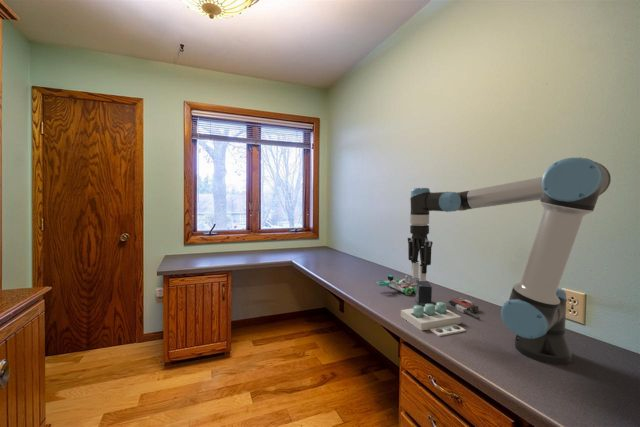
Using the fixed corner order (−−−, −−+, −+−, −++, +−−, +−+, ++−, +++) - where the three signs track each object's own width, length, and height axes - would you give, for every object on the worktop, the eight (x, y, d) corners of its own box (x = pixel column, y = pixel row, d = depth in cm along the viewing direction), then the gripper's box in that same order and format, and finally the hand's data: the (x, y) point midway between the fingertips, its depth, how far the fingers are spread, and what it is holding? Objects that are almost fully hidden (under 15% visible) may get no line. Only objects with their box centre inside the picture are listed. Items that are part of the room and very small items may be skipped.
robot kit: (369, 289, 163) (369, 273, 163) (403, 284, 173) (403, 269, 173) (389, 299, 146) (389, 282, 146) (425, 293, 156) (425, 276, 156)
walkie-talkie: (444, 304, 139) (477, 321, 120) (444, 295, 139) (477, 311, 120) (459, 302, 142) (493, 318, 122) (459, 294, 141) (493, 309, 122)
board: (460, 323, 117) (461, 316, 117) (421, 330, 111) (421, 323, 111) (437, 311, 130) (437, 304, 130) (400, 316, 124) (400, 310, 124)
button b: (437, 315, 119) (437, 306, 119) (429, 316, 118) (429, 307, 118) (430, 311, 123) (430, 303, 123) (422, 313, 122) (422, 304, 122)
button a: (448, 313, 121) (448, 304, 121) (440, 315, 120) (440, 306, 119) (441, 310, 125) (441, 301, 125) (434, 311, 124) (434, 302, 123)
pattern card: (465, 331, 110) (465, 329, 110) (439, 336, 106) (439, 333, 106) (456, 325, 115) (456, 323, 115) (430, 330, 111) (430, 328, 111)
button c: (425, 317, 117) (425, 308, 117) (417, 318, 116) (417, 309, 116) (419, 313, 121) (419, 304, 121) (411, 314, 120) (411, 305, 120)
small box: (432, 308, 134) (432, 286, 133) (418, 307, 135) (418, 286, 135) (428, 300, 144) (428, 280, 144) (415, 299, 146) (415, 279, 145)
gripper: (441, 226, 110) (440, 284, 111) (414, 222, 126) (413, 273, 127) (425, 226, 107) (425, 286, 109) (400, 223, 124) (399, 274, 125)
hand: (418, 279), depth 118 cm, fingers open, 4 cm apart
